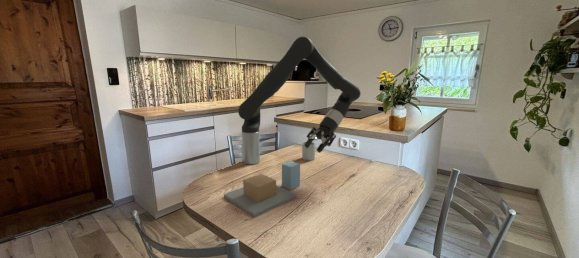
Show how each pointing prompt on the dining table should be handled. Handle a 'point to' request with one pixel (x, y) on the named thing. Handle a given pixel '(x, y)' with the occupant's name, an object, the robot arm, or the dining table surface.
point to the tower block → (290, 175)
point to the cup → (308, 152)
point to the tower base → (259, 205)
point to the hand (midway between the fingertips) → (311, 149)
